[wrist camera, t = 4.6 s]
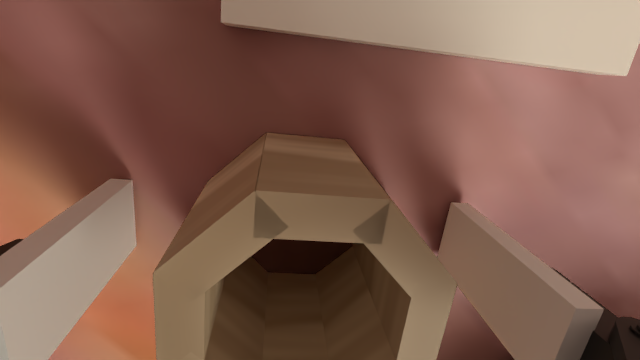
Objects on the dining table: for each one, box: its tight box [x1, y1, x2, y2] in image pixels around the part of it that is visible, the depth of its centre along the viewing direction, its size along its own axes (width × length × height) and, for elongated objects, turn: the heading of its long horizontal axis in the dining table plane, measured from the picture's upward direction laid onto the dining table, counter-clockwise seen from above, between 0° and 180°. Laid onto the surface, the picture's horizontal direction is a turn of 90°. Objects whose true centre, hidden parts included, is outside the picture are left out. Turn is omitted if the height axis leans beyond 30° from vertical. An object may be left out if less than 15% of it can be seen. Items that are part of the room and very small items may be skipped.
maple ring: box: [153, 133, 457, 360], centre depth 11 cm, size 7×7×6 cm
